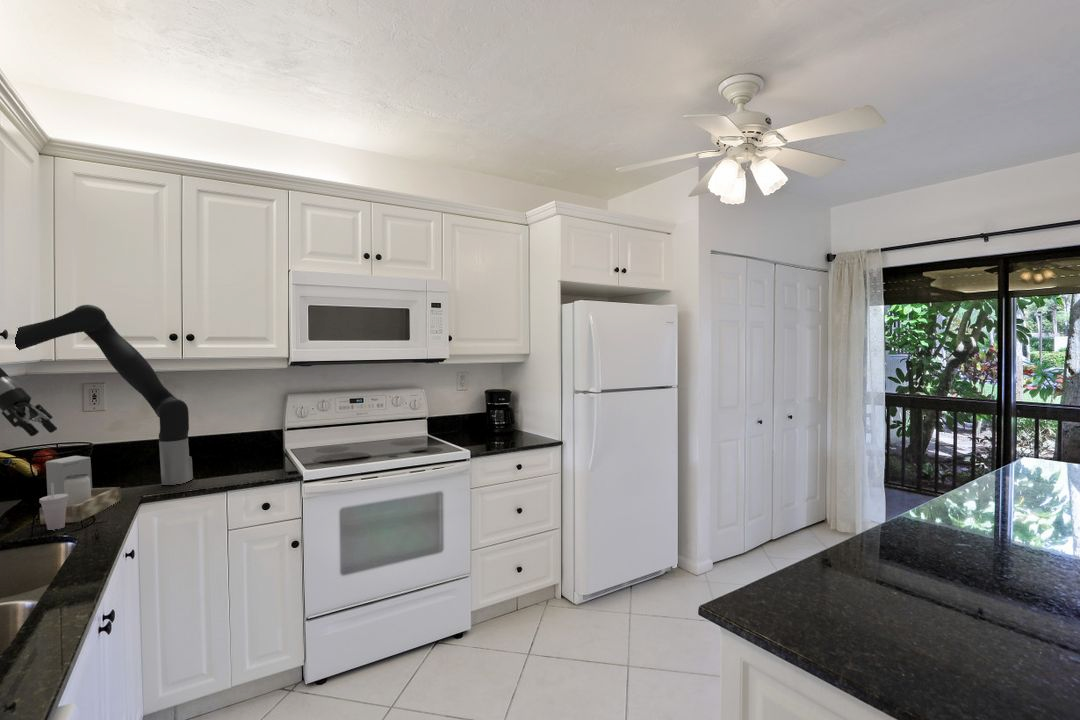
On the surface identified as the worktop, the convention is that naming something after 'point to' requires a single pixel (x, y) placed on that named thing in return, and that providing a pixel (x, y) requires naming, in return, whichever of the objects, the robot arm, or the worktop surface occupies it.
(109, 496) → the crate
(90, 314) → the robot arm
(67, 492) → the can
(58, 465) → the supplement box
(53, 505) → the smoothie
